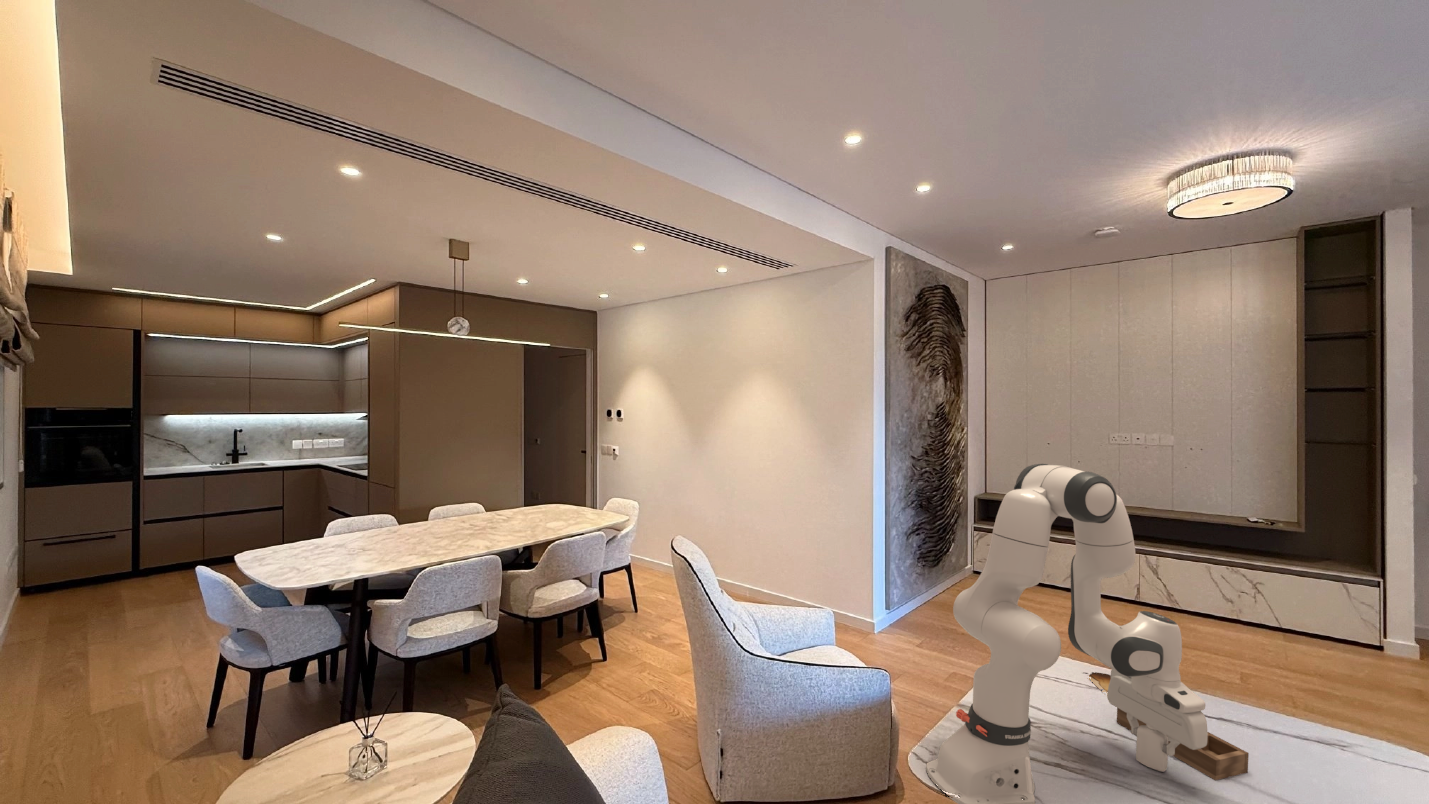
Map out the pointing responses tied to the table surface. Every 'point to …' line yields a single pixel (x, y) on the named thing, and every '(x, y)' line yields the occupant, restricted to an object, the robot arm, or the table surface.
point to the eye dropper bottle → (1151, 748)
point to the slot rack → (1206, 754)
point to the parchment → (1100, 680)
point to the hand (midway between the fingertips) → (1152, 744)
